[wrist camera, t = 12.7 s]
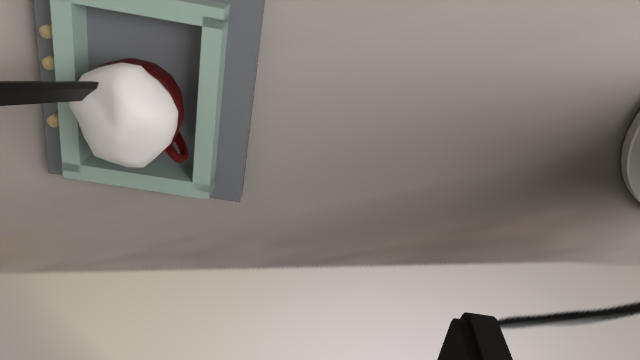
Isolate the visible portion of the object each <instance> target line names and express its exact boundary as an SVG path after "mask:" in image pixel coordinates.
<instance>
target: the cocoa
mask: <svg viewBox="0 0 640 360" xmlns="http://www.w3.org/2000/svg"><path fill="white" fill-rule="evenodd" d="M57 102H69V106H70V108H71V110H72V112H73V113H74V115H75V117H76V119H77V120H78V122H79V125H80V128H81V131H82V133H83V136H84V139H85V140H86V142H87V143H88V145H89V146H90V148H91V150H92V153H93V155H94V156H96V157H99V158H101V159H104V160H106V161H109V162H112V163H115V164H119V165H122V166H125V167H137V168H144V167H145V166H146V165H147V164H149V163H150V162H151V161H152V160H153V159H155V158H156V157H157V156H158V155H159V154H161V153H162V152H164V151H166V153H167V154H168V155H169V156H170V158H171V159H173V160H174V161H175V162H177V163H183V162H184V161H186V160H187V159H188V157H189V153H188V149H187V146H186V144H185V142H184V139H183V137H182V135H181V133H180V131H179V130H180V127H181V124H182V122H183V119H184V106H183V98H182V91H181V90H180V88H179V86H178V85H177V83H176V81H175V80H174V78H173V76H172V75H171V74H170V73H168V72H167V71H165V70H164V69H163V68H161V67H160V66H158V65H157V64H156V63H153V62H148V61H144V60H140V59H135V58H127V59H122V60H117V61H113V62H109V63H104V64H102V65H100V66H98V67H97V68H96V69H94V70H92V71H89V72H87V73H85V74H83V75H82V76H81V78H80V79H79V81H0V106H6V105H23V104H40V103H57ZM174 141H175V142H176V144H177V146H178V149H179V151H180V154H179V153H178V152H177V151H176V149H175V148H174V146H173V143H174Z"/></svg>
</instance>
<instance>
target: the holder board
mask: <svg viewBox="0 0 640 360" xmlns="http://www.w3.org/2000/svg"><path fill="white" fill-rule="evenodd" d="M33 2H34V13H35V25H36V36H37V47H38V58H39V70H40V81H79V79H80V78H81V76H82V75H83V74H85V73H87V72H89V71H92V70H94V69H96V68H97V67H98V66H100V65H102V64H104V63H109V62H113V61H117V60H122V59H127V58H135V59H140V60H144V61H148V62H153V63H156V64H157V65H158V66H160V67H161V68H163V69H164V70H165V71H167V72H168V73H170V74H171V75H172V76H173V78H174V80H175V81H176V83H177V85H178V86H179V88H180V90H181V91H182V98H183V106H184V119H183V122H182V124H181V127H180V130H179V131H180V133H181V135H182V137H183V139H184V142H185V144H186V146H187V149H188V153H189V157H188V159H187V160H186V161H184V162H183V163H177V162H175V161H174V160H173V159H171V158H170V156H169V155H168V154H167V153H166V151H164V152H162V153H161V154H159V155H158V156H157V157H156V158H155V159H153V160H152V161H151V162H150V163H149V164H147V165H146V166H145V167H144V168H137V167H125V166H122V165H119V164H115V163H112V162H109V161H106V160H104V159H101V158H99V157H96V156H94V155H93V153H92V150H91V148H90V146H89V145H88V143H87V142H86V140H85V139H84V136H83V133H82V131H81V128H80V125H79V122H78V120H77V119H76V117H75V115H74V113H73V112H72V110H71V108H70V106H69V102H57V103H42V104H43V115H44V126H45V137H46V149H47V160H48V171H49V173H51V174H58V175H63V178H67V179H74V180H81V181H87V182H94V183H101V184H107V185H114V186H120V187H127V188H134V189H140V190H147V191H153V192H160V193H167V194H173V195H180V196H187V197H193V198H200V199H206V200H209V198H216V199H223V200H229V201H236V202H240V200H241V197H242V191H243V183H244V174H245V166H246V157H247V149H248V140H249V131H250V123H251V114H252V106H253V97H254V88H255V80H256V71H257V63H258V54H259V46H260V37H261V28H262V20H263V11H264V3H265V0H33ZM173 146H174V148H175V149H176V151H177V152H178V153H179V154H180V151H179V149H178V146H177V144H176V142H175V141H174V143H173Z"/></svg>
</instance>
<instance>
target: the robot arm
mask: <svg viewBox="0 0 640 360" xmlns="http://www.w3.org/2000/svg"><path fill="white" fill-rule="evenodd" d="M621 168H622V175H623V178H624V181H625V184H626V186H627V188H628V189H629V191H630V192H631V194H632V195H633V197H635V198H636V199H637V200H638V201H639V202H640V111H639V112H638V114H637V115H636V117H635V119H634V120H633V122H632V124H631V126H630V128H629V130H628V132H627V135H626V138H625V141H624V144H623V148H622V156H621ZM438 360H513V359H512V357H511V354H510V352H509V349H508V346H507V344H506V341H505V339H504V336H503V334H502V331H501V328H500V326H499V323H498V321H497V319H496V318H495V317H493V316H487V315H480V314H473V313H464V314H463V315H462V316H461V318H460V319H456V318H454V319H453V320H452V321H451V324H450V326H449V329H448V332H447V335H446V337H445V340H444V343H443V346H442V348H441V351H440V354H439V357H438Z"/></svg>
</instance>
